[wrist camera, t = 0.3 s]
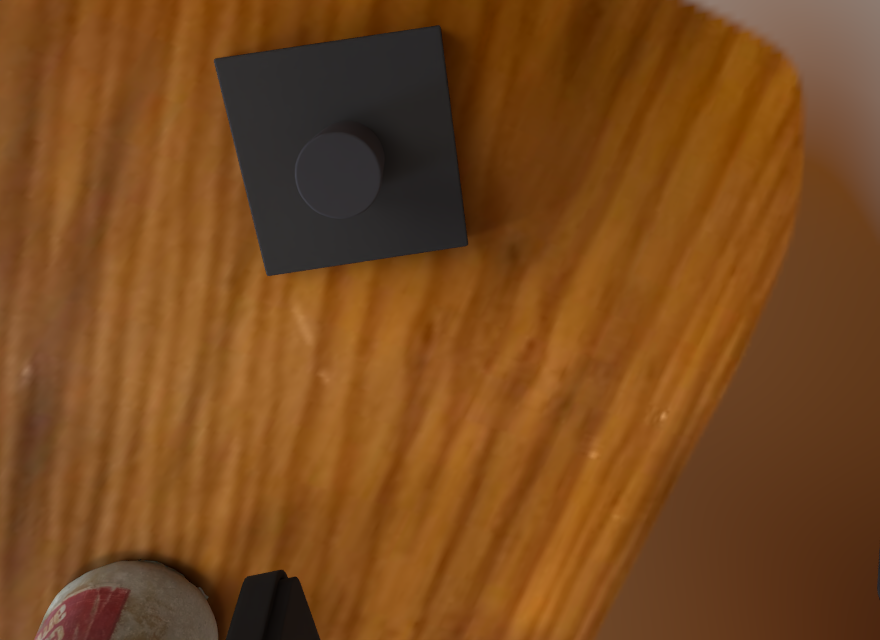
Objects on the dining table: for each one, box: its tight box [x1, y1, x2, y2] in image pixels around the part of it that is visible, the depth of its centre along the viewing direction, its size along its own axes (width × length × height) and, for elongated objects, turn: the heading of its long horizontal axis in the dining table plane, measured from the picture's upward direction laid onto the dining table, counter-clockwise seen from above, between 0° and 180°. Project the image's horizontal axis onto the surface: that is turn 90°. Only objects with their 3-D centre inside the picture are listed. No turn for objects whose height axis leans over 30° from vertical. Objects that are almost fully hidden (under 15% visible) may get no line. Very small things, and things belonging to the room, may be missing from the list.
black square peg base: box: [214, 26, 468, 276], centre depth 26 cm, size 9×9×6 cm
